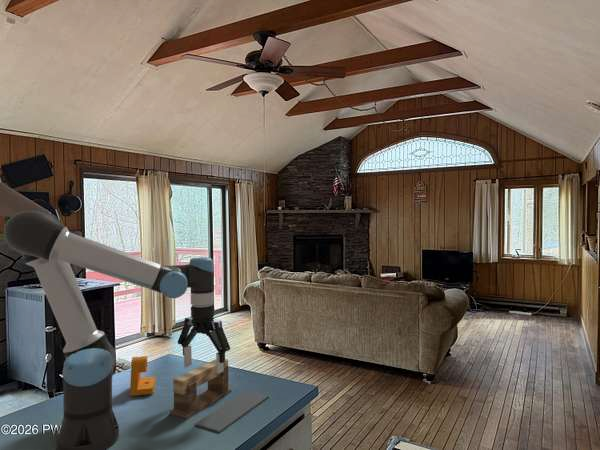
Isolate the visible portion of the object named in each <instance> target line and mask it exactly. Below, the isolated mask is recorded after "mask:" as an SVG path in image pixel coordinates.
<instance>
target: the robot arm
mask: <svg viewBox="0 0 600 450" xmlns="http://www.w3.org/2000/svg"><path fill="white" fill-rule="evenodd" d="M3 237H4V241H5V243H6V245H8V247H10V248H11V249H12V250H13V251H16V252H17V253H20V254H21V257H22V259H23V261H24V264H25V265H27V266H30V267H32V268H33V269H34V270H35V273H36V275H37V278H38V280H39V282H40V285H41V287H42V290H43V292H44V294H45V297H46V299H47V300H48V303H49V306H50V308H51V310H52V313H53V315H54V317H55V319H56V322H57V324H58V327H59V330H60V332H61V333H62V336H63V339H64V341H65V345H64V347H63V349H62V352H63V354H64V357H65V360H64V362H63V368H62V373H61V374H62V378H63V382H62V383H63V385H62V386H63V388H62V389H63V417H62V421H61V425H60V426H59V427H60V428H59V431H58V434H57V436H56V439H55V450H107V449H109V448H110V447H111V446H112V445H114V444H115V443H116V442H117V441H118V439H119V438H120V426H119V424H118V421H117V418H116V416H115V413H114V410H113V376H114V375H113V374H114V371H115V367H116V364H117V363H116V362H117V354H116V351H115V348H114V347H113V345H111V343H110V342H109V340H108V338H107V335H106V333H105V332H104V331H103V330H99V329H97V326H96V323H95V321H94V319H93V317H92V314H91V312H90V309H89V307H88V305H87V303H86V300H85V297H84V296H83V293H82V290H81V288H80V285H79V283H78V281H77V277H76V276H75V273H74V271H73V269H72V267H71V265H75V266H77V267H81V268H83V269H87V270H90V271H93V272H96V273H99V274H102V275H105V276H108V277H111V278H115V279H118V280H120V281H123V282H127V283H130V284H133V285H136V286H139V287H143V288H146V289H148V290H152V291H154V292H156V293H159V294H162V295H163V296H164V297H166V298H169V299H178V298H180V297H181V296H183V295H184V294H185V293H186V292H187V290H188V288H190V305H191V306H190V316H188V317H185V318H184V322H183V323H184V324H183V327H182V329H181V332H180V334H179V337H178V339H177V344H178V345H180V346H181V347H182V356H183V358H184V359H183V360H184V361H183V366H184V368H187V367H189V366H192V364H193V363H192V361H193V360H192V345H191V342H192V341H193V340H194V339H195V337H196V336H197V334H203V335H206V336H207V337H208V338H209V339H210V341H211V342H212V344H213V346H214V347H215V349H216V351H217V352H216V353H215V356H216V357H215V359H216V373H217V374H219V373H221V372H223V371H224V362H225V359H226V352H228V351H231V346H230V343H229V342H228V338H227V336H226V333H225V331H224V328H223V322H222V320H217V321H216V320H214V316H215V305H214V303H215V276H214V275H215V271H214V260H213V258H211V257H193V258H192V257H191V258H190V259H189V260H190V261H189V263H187V264H179V265H178V264H177V265H162V264H160V263H156V262H154V261H151V260H148V259H146V258H142V257H140V256H136V255H134V254H132V253H129V252H126V251H123V250H120V249H117V248H114V247H111V246H109V245H106V244H103V243H100V242H97V241H95V240H92V239H89V238H86V237H84V236H81V235H78V234H75V233H72V232H70V230H69V229H68V227H67V226H64V224H63V222H62V220H60V219H59V218H58V217H57V216H56V215H54V214H53V213H50V212H47V211H44V210H24V211H21V212H20V211H19V212H17V213H15V214H14V215H11V217H10V218H9V219H8V220H7V221H6V223H5V224H4V228H3ZM192 326H193V327H192Z"/></svg>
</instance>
